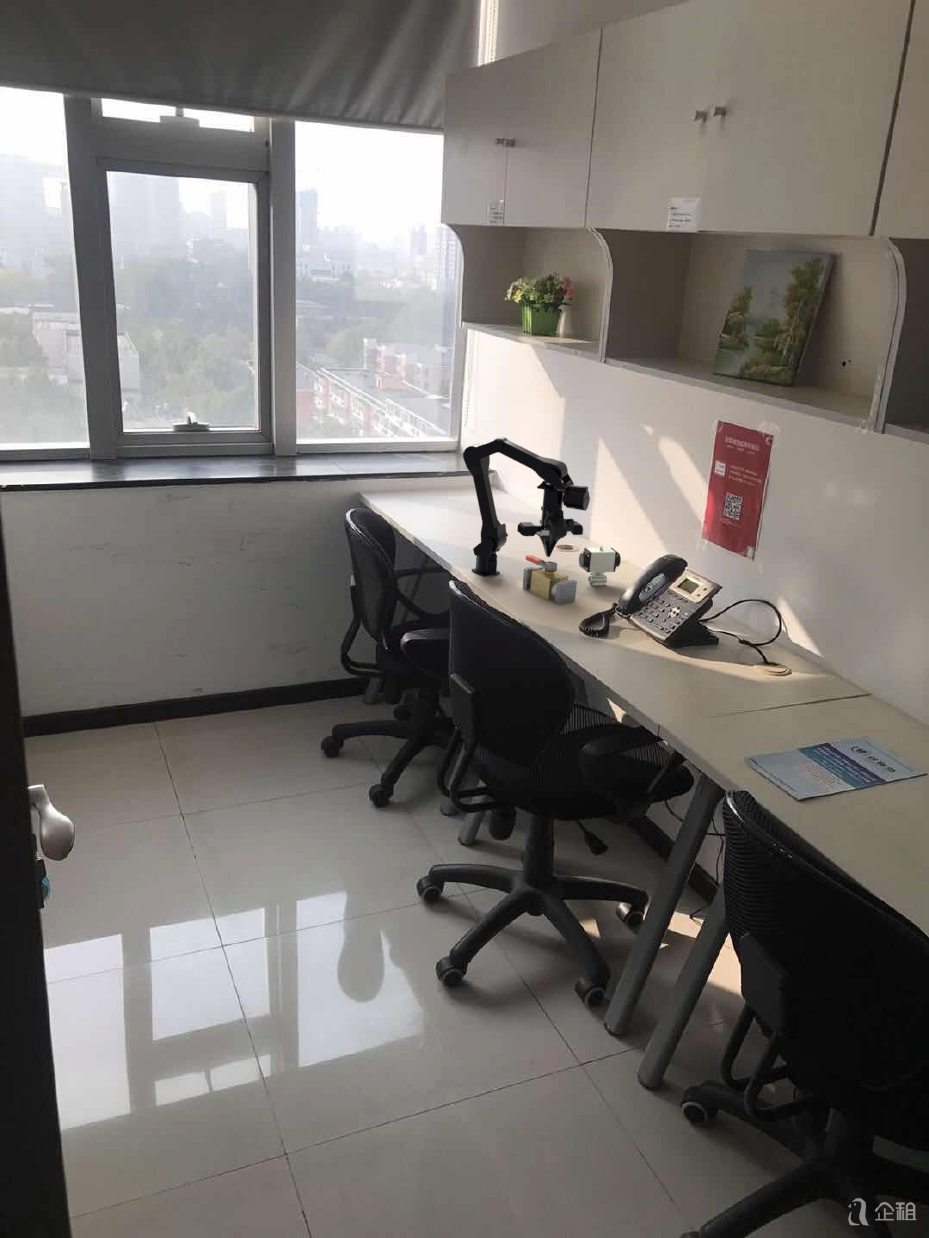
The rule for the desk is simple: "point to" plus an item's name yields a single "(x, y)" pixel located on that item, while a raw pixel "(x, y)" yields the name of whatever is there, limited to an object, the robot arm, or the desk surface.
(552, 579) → the valve pipe
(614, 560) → the pneumatic valve
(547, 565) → the lever
